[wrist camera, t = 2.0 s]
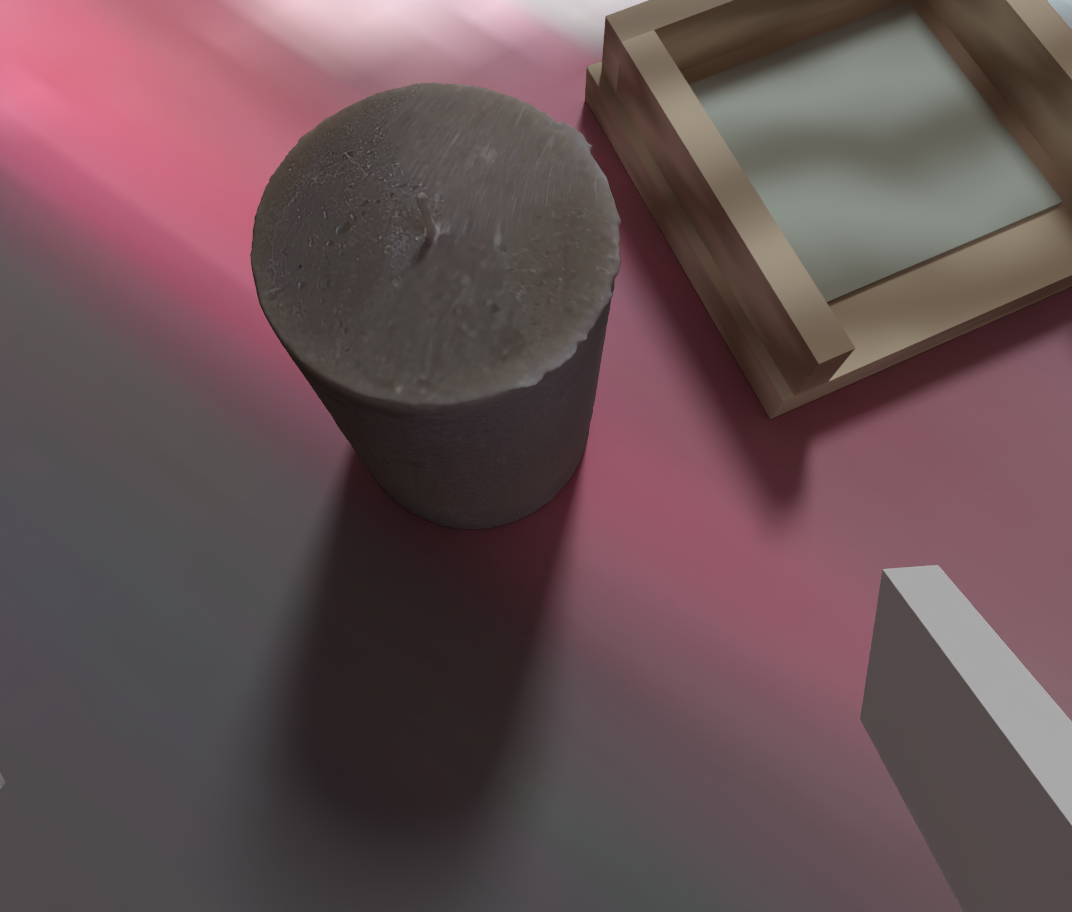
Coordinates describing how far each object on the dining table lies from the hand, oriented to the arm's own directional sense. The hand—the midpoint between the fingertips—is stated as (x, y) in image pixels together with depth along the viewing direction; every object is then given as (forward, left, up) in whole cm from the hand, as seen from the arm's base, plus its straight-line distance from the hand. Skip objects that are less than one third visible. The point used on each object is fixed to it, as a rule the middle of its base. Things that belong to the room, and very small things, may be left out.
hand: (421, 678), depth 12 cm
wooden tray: (-15, +24, -19) cm, 34 cm away
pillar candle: (-11, +4, -20) cm, 23 cm away
